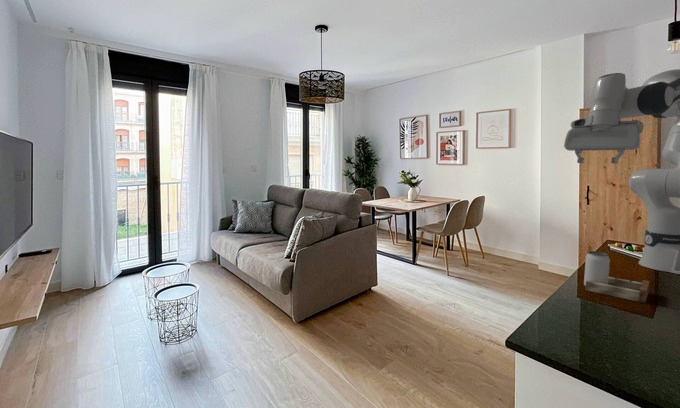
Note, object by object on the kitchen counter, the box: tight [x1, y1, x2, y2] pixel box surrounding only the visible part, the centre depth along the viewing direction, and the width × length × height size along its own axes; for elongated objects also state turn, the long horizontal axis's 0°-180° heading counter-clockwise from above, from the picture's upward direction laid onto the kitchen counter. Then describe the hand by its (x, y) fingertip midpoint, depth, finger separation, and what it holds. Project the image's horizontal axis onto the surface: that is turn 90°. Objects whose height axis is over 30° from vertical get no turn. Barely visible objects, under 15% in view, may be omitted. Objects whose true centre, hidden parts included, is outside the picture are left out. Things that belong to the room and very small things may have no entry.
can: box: [583, 250, 611, 286], centre depth 113 cm, size 6×6×12 cm
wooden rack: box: [584, 276, 650, 304], centre depth 109 cm, size 15×10×4 cm
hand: (596, 163), depth 112 cm, fingers open, 8 cm apart
